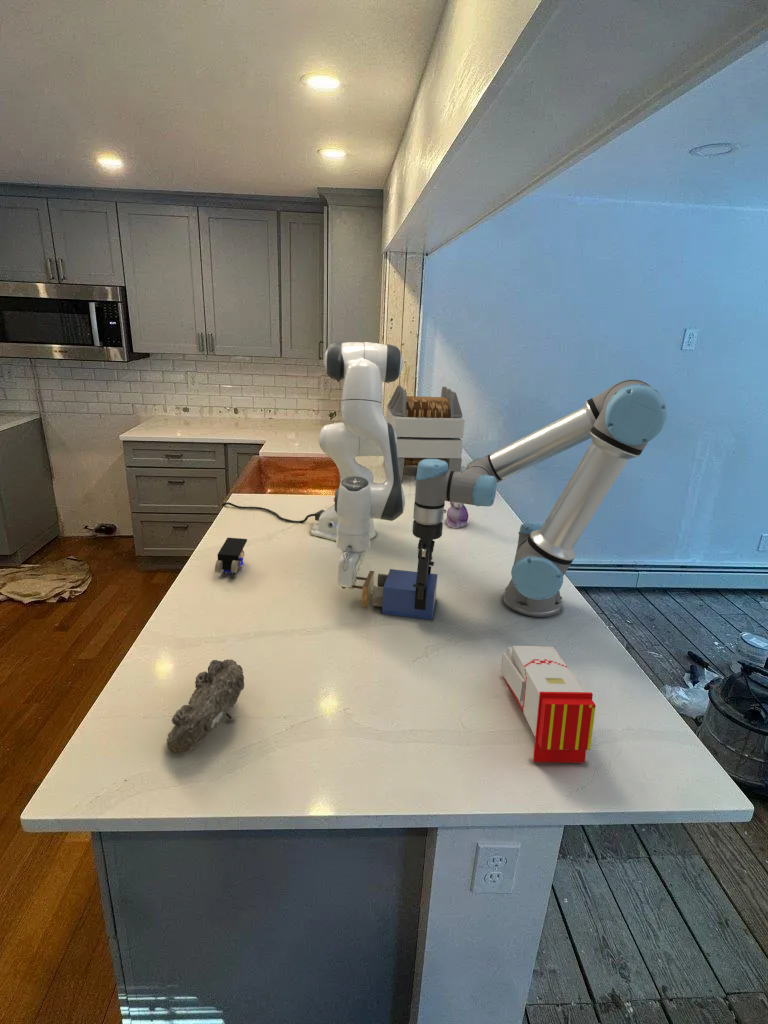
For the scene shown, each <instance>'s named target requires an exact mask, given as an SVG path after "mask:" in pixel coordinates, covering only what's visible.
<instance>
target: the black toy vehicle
mask: <svg viewBox="0 0 768 1024" xmlns="http://www.w3.org/2000/svg"><path fill="white" fill-rule="evenodd" d="M247 542H248V538H240V537H226V539H225V541H224V543H223V544H222V546H221V547H220V549H219V551H218V552H217V560H216V562H215V564H214V572H215V573H221V577H222V578H224V577H225V576H226V574H227V573H230V574H231V573H232V574H231V578H234V577H235V575H236V573H237V572H239V571H240V567H242V566H243V565H244V564H245V562H244V558H245V551H244V547H245V546H246V544H247Z"/></svg>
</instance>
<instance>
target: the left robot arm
mask: <svg viewBox="0 0 768 1024" xmlns="http://www.w3.org/2000/svg"><path fill="white" fill-rule="evenodd" d="M323 365H324V370H325V371H326V375H327V376H328V377H329V378H330V379H332V380H334V381H336V382H337V383H340V382H341V381H343V384H342V392H341V402H340V405H341V406H340V407H341V408H340V411H341V412H340V413H341V421H342V422H333V423H328V424H325V425H323V427H321V429H320V431H319V434H318V444H319V447H320V449H321V450H322V452H323V453H324V454H325V455H326V456H328V457H329V458H330V459H331V460H332V461H333V462H334V464H335V465H336V467H337V470H338V474H339V486H338V487H337V489H336V490H335V492H334V497H333V502H334V504H333V505H331V506H329V507H328V508H326V509H321V510H318V511H317V512H315V513H310V514H307V515H306V516H305V517H304V519H302V520H292V519H288V518H284V517H282V516H280V515H279V514H278V513H277V512H275V511H274V510H271V509H269V508H266V507H262V506H242V505H241V506H240V505H237V504H234V503H232V502H229V501H228V502H227V501H226V502H223V503H222V504H221V506H222V507H225V506H226V505H228V506H231V507H233V508H235V509H241V510H259V511H265V512H269V513H270V514H273V515H275V516H276V518H278V519H279V520H281V521H283V522H287V523H293V524H303V523H306V522H307V521H308V519H309V518H311V517H314V521H316V522H317V523H315V524H314V525H313V526H312V528H311V530H310V533H311V536H315V537H319V538H323V539H326V540H330V541H336V542H335V543H336V547H337V549H339V550H340V552H341V553H342V554H341V555H340V557H339V560H338V571H337V585H338V586H339V587H341V588H342V587H346V588H347V587H352V585H355V586H357V583H358V580H357V577H358V575H359V572H360V570H361V567H362V565H363V563H364V561H365V559H366V557H367V552H368V549H369V548H370V547H371V540H372V539H373V538H375V537H376V535H377V532H376V528H375V523H374V519H379V520H383V521H389V522H390V521H391V522H393V521H395V520H397V519H398V518H400V516H402V515H403V514H404V511H405V507H406V497H405V493H404V490H403V486H402V482H400V470H399V462H398V453H397V446H396V445H397V435H396V432H395V430H394V429H393V427H392V425H391V424H390V423H388V422H387V421H386V416H385V415H384V411H383V402H384V401H383V397H384V396H383V395H384V394H383V393H384V392H383V382H384V384H388V383H394V382H396V381H397V380H398V379H399V377H400V375H401V373H402V371H403V366H404V362H403V356H402V353H401V350H400V348H399V347H398V346H396V345H393V344H389V343H387V344H382V343H377V342H372V341H364V342H361V341H349V342H342V341H334V342H331V343H330V344H329V345H328V346H327V349H326V351H325V353H324V356H323ZM357 457H369V458H370V457H371V458H372V457H373V458H375V457H383V458H382V459H383V463H384V464H383V466H384V474H385V481H384V482H374V474H373V472H372V471H371V469H369V468H368V467H366V466H364V465H362V464H360V463H359V462H357V461H356V458H357ZM347 589H348V590H355V588H347Z"/></svg>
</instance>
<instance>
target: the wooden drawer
mask: <svg viewBox="0 0 768 1024" xmlns="http://www.w3.org/2000/svg"><path fill="white" fill-rule="evenodd" d="M387 576H388V574H386V573H378V574H377V585H375V582H374V581H375V570H369V572H368V574H367V576H366V577H363V576H357V581H358V580H359V581H364V582H363V585H356V586H355V585H352V587H341V589H343V590H346V589H348V588H354V589H355V590H356V589H358V590H362V594H361V595H362V596H361V608H367V607H368V604H369V602H370V600H371V606H373V607H380V608H382V605H383V587H384V584H385V581H386V579H387ZM371 597H372V599H371Z"/></svg>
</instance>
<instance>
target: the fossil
mask: <svg viewBox="0 0 768 1024" xmlns="http://www.w3.org/2000/svg"><path fill="white" fill-rule="evenodd" d="M243 670H244V669H243V667H242V665H240V664H237V662H236V661H235V660H234V659H232V658H231V659H227V658H226V659H224V660H223V661H222V660H217V659H212V660H211V661H210V663H209V665H208V666H207V671H201V672H199V673H198V674H197V675H196V676H195V680H194V684H195V685H194V687H195V689H194V690H193V693H192V694H191V697H190V698H189V700H188V704H184V705H182V706H181V707H180V709H177V710H176V711H175V713H174V715H173V716H172V718H171V723H172V724H173V727H172V730H171V731H170V732H168V734H167V738H166V741H167V742H166V745H167V749H168V750H169V751H173V752H174V753H176V754H178V753H182V752H188V751H189V752H192V751H193V750H195V748H196V747H197V746H199V744H200V743H201V742H203V741H204V740H205V739H206V738H207V737H208V736H209V735H210V734H211V733H212V732H214V730H215V729H217V727H218V726H219V724H220V722H221V721H222V720H223V719H224V718H225V716H226V717H227V719H229V720H233V717H232V715H230V714H229V710H230V709H231V708H234V706H235V704H236V703H237V702H238V699H239V697H240V695H241V693H242V691H243V690H245V689H244V688H245V675H244V671H243Z"/></svg>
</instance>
